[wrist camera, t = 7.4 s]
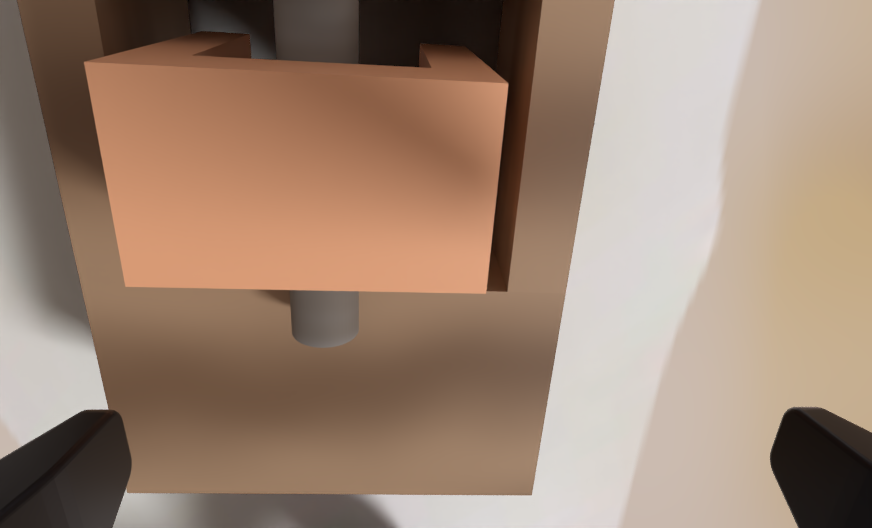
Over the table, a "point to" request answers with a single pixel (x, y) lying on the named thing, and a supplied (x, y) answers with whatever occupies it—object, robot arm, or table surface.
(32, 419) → the table surface
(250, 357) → the wooden divided tray
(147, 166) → the staple
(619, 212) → the table surface
